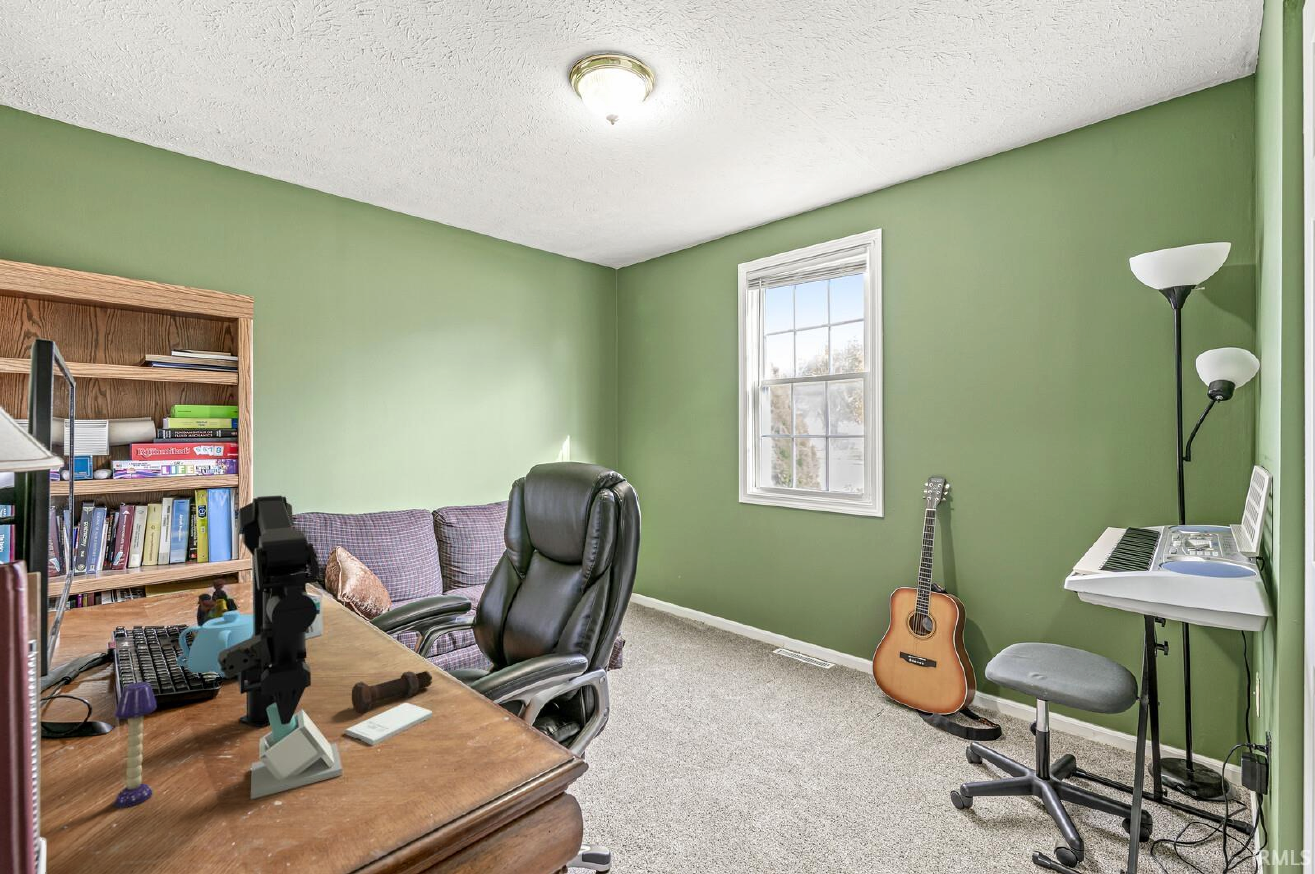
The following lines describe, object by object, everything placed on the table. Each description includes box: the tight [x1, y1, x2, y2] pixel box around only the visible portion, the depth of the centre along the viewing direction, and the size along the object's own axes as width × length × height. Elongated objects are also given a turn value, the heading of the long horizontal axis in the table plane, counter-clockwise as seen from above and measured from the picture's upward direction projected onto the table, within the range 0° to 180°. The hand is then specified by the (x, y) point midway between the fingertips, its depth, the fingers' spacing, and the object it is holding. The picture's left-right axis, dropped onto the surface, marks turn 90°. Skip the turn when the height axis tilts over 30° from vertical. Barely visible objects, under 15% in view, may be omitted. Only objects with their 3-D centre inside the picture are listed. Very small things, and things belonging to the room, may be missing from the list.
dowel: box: [266, 702, 297, 744], centre depth 97 cm, size 3×3×9 cm
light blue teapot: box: [176, 610, 253, 678], centre depth 140 cm, size 16×16×14 cm
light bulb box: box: [306, 592, 323, 640], centre depth 165 cm, size 11×7×11 cm, turn 58°
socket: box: [250, 708, 343, 800], centre depth 98 cm, size 12×10×8 cm
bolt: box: [351, 670, 433, 714], centre depth 125 cm, size 6×5×15 cm
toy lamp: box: [113, 681, 158, 808], centre depth 91 cm, size 5×5×17 cm
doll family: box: [193, 578, 241, 637], centre depth 167 cm, size 23×9×13 cm, turn 49°
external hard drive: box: [344, 702, 433, 746], centre depth 114 cm, size 2×8×12 cm
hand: (285, 717), depth 97 cm, fingers open, 5 cm apart
